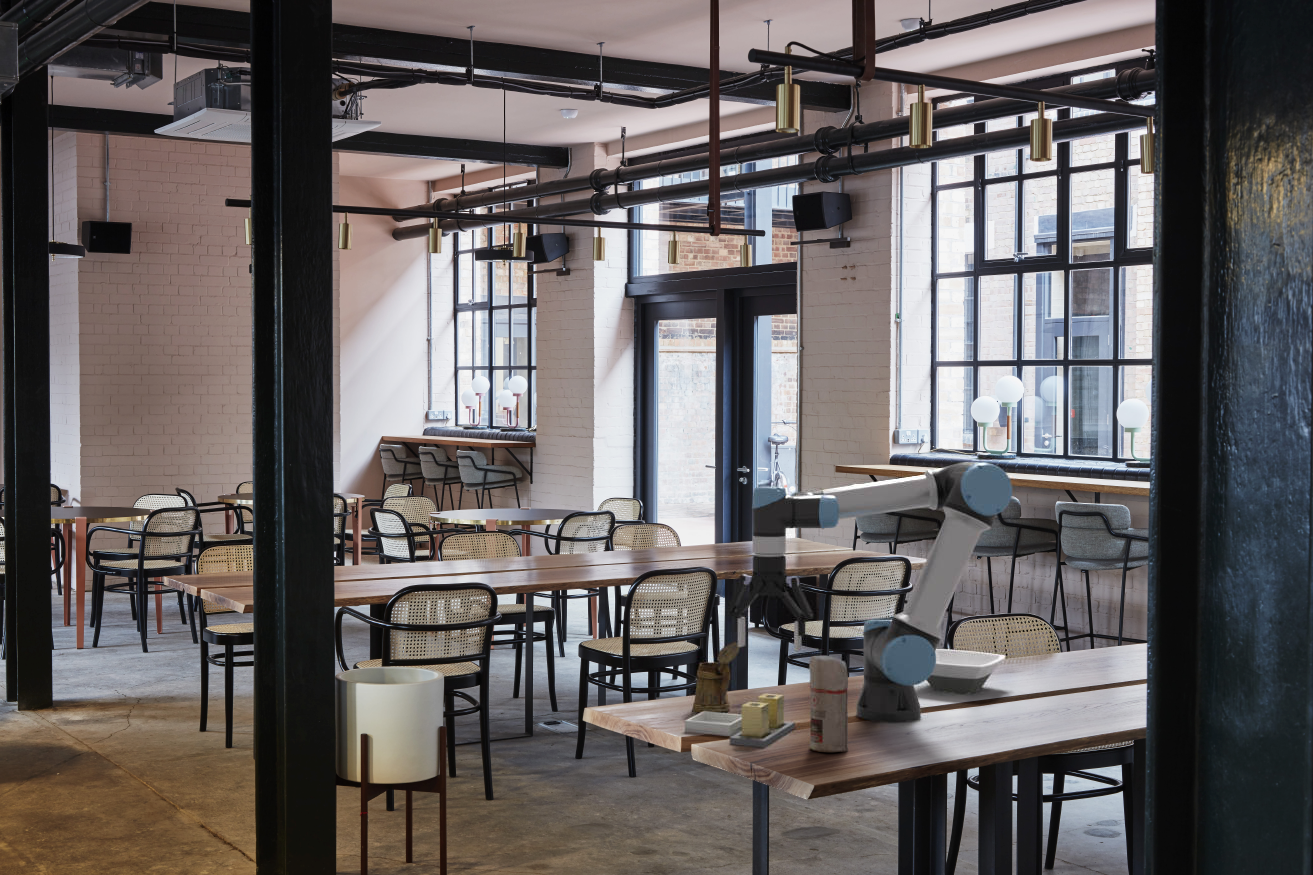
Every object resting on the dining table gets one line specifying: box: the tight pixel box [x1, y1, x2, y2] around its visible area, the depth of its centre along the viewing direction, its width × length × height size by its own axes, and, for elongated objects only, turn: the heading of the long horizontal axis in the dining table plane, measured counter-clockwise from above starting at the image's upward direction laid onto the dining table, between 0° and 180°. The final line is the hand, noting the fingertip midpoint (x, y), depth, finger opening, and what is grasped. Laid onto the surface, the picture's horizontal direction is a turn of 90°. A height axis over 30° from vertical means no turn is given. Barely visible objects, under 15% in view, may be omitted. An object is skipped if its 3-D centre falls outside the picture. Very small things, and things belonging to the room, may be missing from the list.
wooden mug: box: [691, 641, 740, 714], centre depth 310 cm, size 9×14×18 cm, turn 36°
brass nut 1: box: [741, 701, 769, 739], centre depth 280 cm, size 5×5×8 cm
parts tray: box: [684, 711, 742, 737], centre depth 291 cm, size 11×11×2 cm
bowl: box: [925, 648, 1006, 694], centre depth 338 cm, size 22×23×8 cm
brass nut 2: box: [757, 693, 785, 729], centre depth 289 cm, size 5×5×8 cm
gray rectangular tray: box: [729, 720, 796, 749], centre depth 284 cm, size 8×20×2 cm, turn 155°
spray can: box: [808, 655, 849, 753], centre depth 272 cm, size 8×8×20 cm
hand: (769, 648), depth 289 cm, fingers open, 13 cm apart
